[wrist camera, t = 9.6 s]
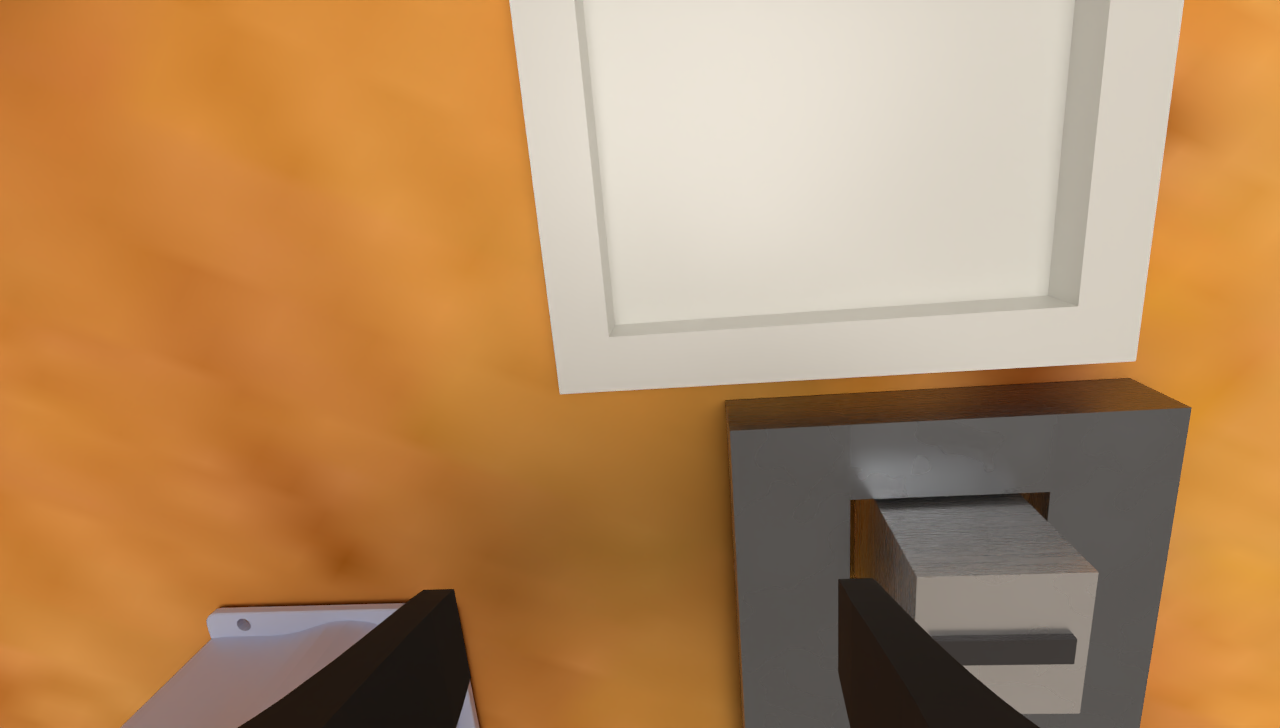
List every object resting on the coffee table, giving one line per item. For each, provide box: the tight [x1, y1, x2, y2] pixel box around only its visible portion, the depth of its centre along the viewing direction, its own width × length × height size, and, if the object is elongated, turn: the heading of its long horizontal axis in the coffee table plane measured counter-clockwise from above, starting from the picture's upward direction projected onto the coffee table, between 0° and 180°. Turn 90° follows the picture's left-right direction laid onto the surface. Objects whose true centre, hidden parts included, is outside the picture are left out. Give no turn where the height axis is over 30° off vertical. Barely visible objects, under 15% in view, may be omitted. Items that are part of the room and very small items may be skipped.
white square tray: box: [509, 0, 1184, 394], centre depth 17 cm, size 16×16×2 cm
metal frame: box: [725, 378, 1191, 728], centre depth 22 cm, size 12×20×2 cm, turn 5°
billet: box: [854, 493, 1099, 714], centre depth 18 cm, size 4×4×6 cm
